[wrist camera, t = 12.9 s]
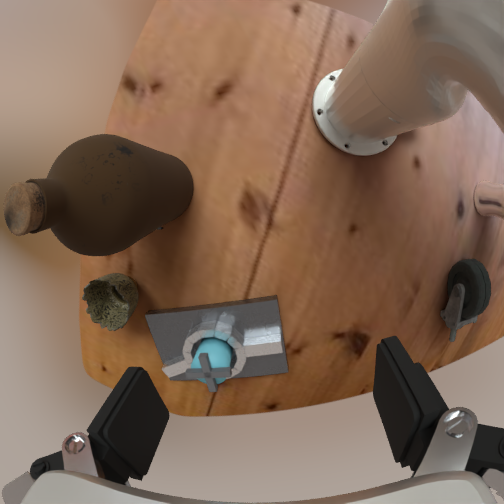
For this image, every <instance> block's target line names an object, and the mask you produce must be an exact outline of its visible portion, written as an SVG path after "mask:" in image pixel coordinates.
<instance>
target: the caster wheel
mask: <svg viewBox="0 0 504 504" xmlns="http://www.w3.org/2000/svg"><path fill="white" fill-rule="evenodd" d="M448 295H449V301H448V304H447V307H446V309H444V310H441V314H440V316H441V317H442V319H443V320H444V321H445V324H446V326H447V327H448V328H450V329H451V332H450V338H449V340H450V341H451V342H454V341H455V337H456V331H457V329H460V328H461V327H463V326H464V325H466V324H469V323H472V322H473V323H476V321H477V316H478V315H479V314H481V313H483V311H484V310H485V309H486V307H487V306H488V304H489V300H490V296H491V282H490V279H489V275H488V272H487V270H486V269H485V267H484V266H483V264H482V263H480V262H479V261H477V260H476V259H466V260H461V261H458V262H457V263H456V264H455V265H454V266H453V267H452V269H451V271H450V273H449V278H448Z"/></svg>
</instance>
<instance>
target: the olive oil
mask: <svg viewBox="0 0 504 504" xmlns="http://www.w3.org/2000/svg"><path fill="white" fill-rule="evenodd" d="M192 195H193V180H192V176H191V173H190V171H189V169H188V168H187V166H186V165H185V164H184V163H183V162H182V161H181V160H180V159H178V158H176V157H174V156H172V155H169V154H166V153H163V152H160V151H157V150H154V149H152V148H149V147H146V146H144V145H141V144H138V143H136V142H133V141H130V140H128V139H125V138H122V137H119V136H115V135H109V134H100V135H94V136H90V137H87V138H84V139H81V140H79V141H77V142H75V143H73V144H71V145H70V146H69V147H68V148H66V149H65V150H64V151H63V152H62V153H61V154H60V155H59V156H58V158H57V159H56V160H55V162H54V164H53V165H52V167H51V169H50V171H49V174H48V176H47V178H46V179H30V180H27V181H26V182H19V183H14V184H12V185H11V186H10V187H9V189H8V191H7V193H6V196H5V201H4V215H5V220H6V223H7V226H8V228H9V229H10V231H11V232H12V233H13V234H15V235H17V236H21V235H25V234H28V233H37V232H40V231H43V230H46V229H49V228H51V230H52V232H53V233H54V234H55V236H56V237H57V238H58V239H59V241H60V242H61V243H63V244H64V245H65V246H66V247H67V248H69V249H70V250H73V251H74V252H77V253H79V254H83V255H88V256H106V255H111V254H115V253H118V252H120V251H123V250H125V249H126V248H128V247H129V246H131V245H132V244H134V243H135V242H137V241H139V240H140V239H142V238H143V237H145V236H146V235H148V234H149V233H151V232H153V231H154V230H156V229H163V228H162V227H161V226H162V225H164V224H166V223H168V222H170V221H172V220H174V219H175V218H177V217H178V216H180V215H181V214H182V213H183V212H184V211H185V210H186V208H187V207H188V205H189V203H190V201H191V198H192Z"/></svg>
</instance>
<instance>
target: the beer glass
mask: <svg viewBox="0 0 504 504" xmlns="http://www.w3.org/2000/svg"><path fill="white" fill-rule="evenodd" d="M474 203H475V207H476V209H477V211H478V213H479V214H481V215H482V216H496V217H499V218H501V219H503V220H504V184H494V183H492V182H489V181H486V180H483V181H480V182H479V183H478V185H477V186H476V189H475V193H474Z"/></svg>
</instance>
